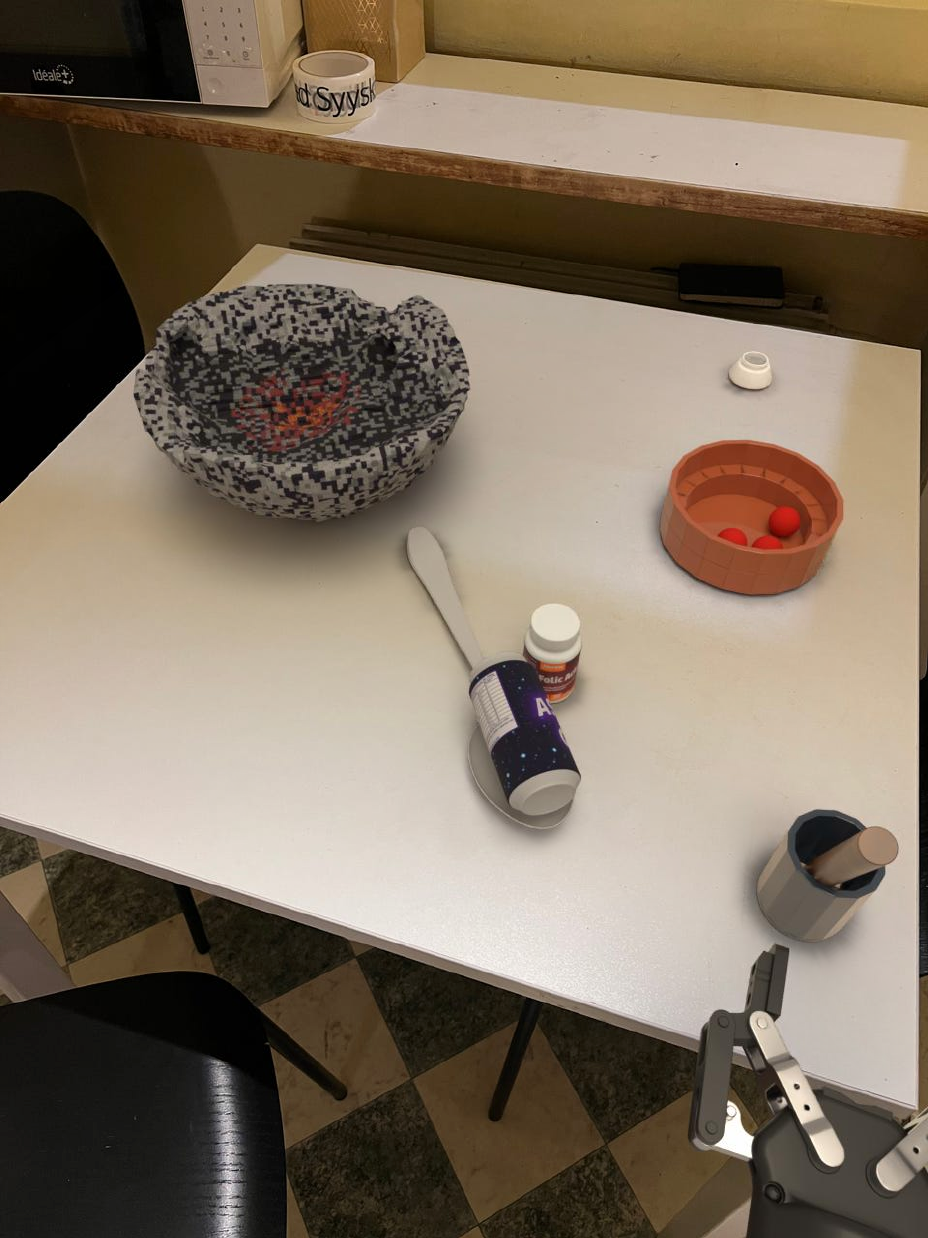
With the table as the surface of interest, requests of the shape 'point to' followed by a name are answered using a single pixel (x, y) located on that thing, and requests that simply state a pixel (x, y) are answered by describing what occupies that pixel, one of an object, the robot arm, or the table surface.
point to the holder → (812, 879)
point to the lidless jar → (751, 371)
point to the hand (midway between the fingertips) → (860, 980)
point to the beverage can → (523, 734)
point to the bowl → (302, 396)
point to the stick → (854, 857)
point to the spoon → (439, 585)
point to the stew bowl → (749, 515)
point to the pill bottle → (554, 648)
